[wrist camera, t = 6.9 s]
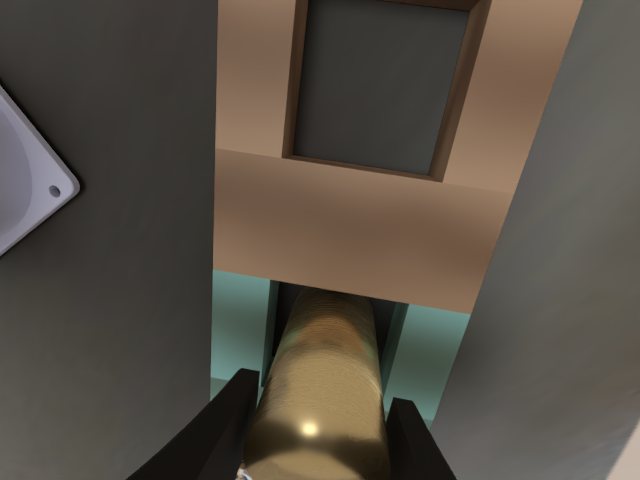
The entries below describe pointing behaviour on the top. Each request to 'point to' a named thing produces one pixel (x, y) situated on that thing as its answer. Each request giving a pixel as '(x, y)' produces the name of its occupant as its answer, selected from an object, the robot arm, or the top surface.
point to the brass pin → (322, 396)
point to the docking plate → (370, 190)
